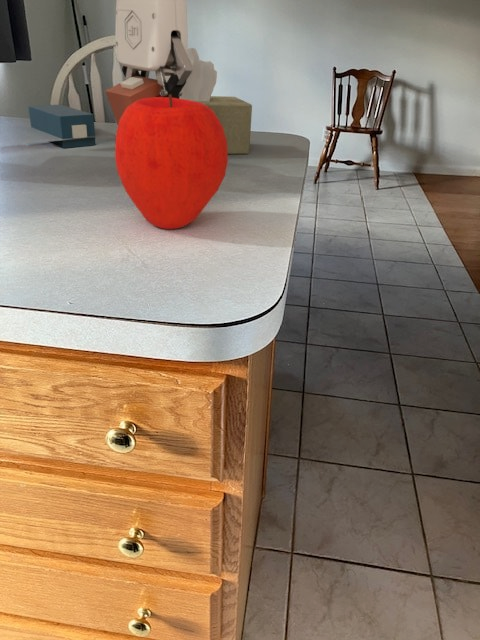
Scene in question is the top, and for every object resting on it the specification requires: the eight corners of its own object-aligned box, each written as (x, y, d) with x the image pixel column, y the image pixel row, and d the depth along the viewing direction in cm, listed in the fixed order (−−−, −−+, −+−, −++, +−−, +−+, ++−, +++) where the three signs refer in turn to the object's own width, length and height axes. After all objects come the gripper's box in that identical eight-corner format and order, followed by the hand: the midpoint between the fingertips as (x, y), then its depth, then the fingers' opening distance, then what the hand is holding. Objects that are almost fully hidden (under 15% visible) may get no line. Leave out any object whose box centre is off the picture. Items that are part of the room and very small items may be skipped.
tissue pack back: (97, 145, 93) (95, 114, 90) (65, 149, 89) (61, 117, 87) (63, 132, 101) (60, 104, 98) (32, 135, 97) (28, 106, 95)
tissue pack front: (128, 91, 65) (160, 75, 67) (103, 85, 69) (133, 70, 71) (159, 183, 74) (187, 167, 76) (135, 174, 78) (162, 158, 80)
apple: (247, 228, 60) (255, 99, 54) (160, 251, 53) (157, 105, 46) (181, 201, 67) (181, 85, 61) (98, 218, 60) (87, 88, 54)
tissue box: (234, 142, 101) (239, 48, 94) (251, 154, 93) (257, 52, 86) (133, 143, 96) (129, 43, 88) (141, 155, 88) (137, 47, 80)
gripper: (87, -38, 67) (96, 114, 76) (167, -41, 56) (167, 138, 65) (139, -31, 72) (141, 112, 81) (222, -32, 61) (215, 134, 70)
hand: (153, 122), depth 73 cm, fingers closed on tissue pack front, 6 cm apart
